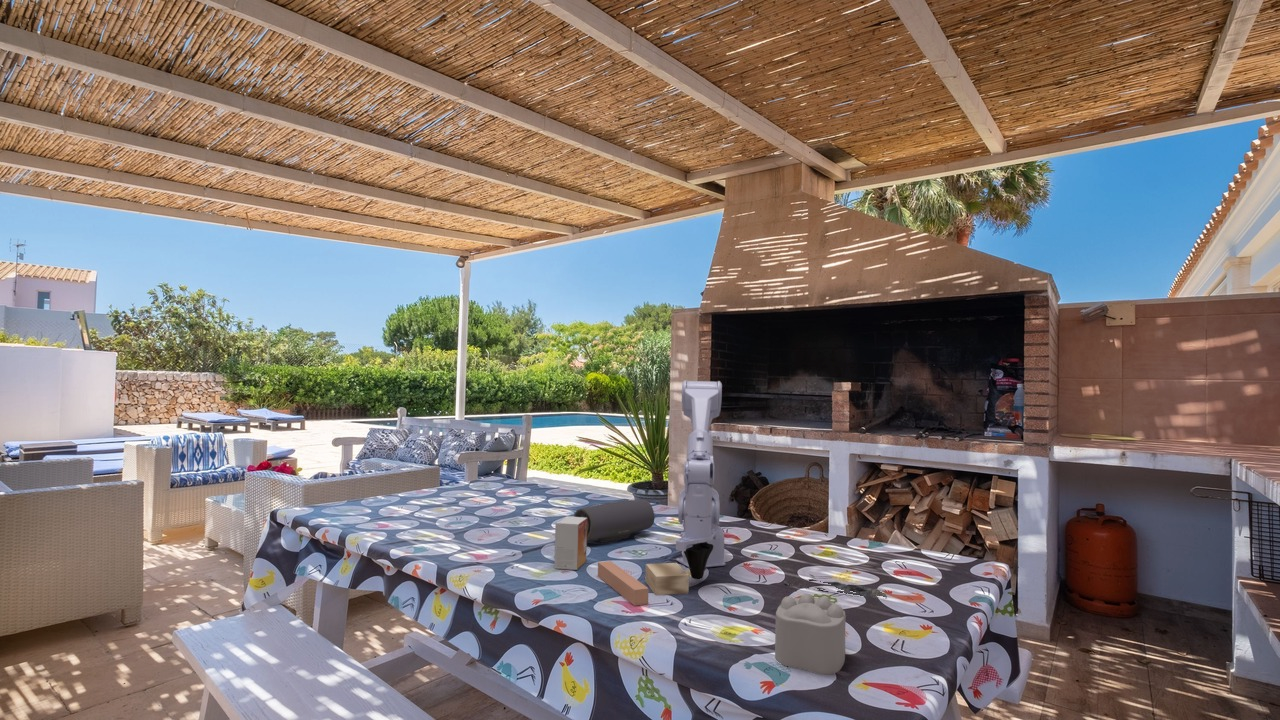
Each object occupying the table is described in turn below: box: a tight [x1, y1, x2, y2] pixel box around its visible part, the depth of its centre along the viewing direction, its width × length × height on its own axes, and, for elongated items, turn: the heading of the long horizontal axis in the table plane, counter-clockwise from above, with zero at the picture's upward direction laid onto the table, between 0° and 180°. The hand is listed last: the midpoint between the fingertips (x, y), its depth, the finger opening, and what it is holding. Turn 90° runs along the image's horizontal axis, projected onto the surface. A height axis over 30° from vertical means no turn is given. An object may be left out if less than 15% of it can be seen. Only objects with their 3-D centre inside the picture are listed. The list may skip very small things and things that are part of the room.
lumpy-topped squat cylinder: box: [774, 593, 847, 675], centre depth 102 cm, size 10×13×9 cm
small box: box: [553, 516, 588, 571], centre depth 149 cm, size 8×6×10 cm
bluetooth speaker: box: [573, 499, 655, 543], centre depth 175 cm, size 23×9×10 cm, turn 133°
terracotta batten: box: [597, 560, 650, 607], centre depth 132 cm, size 3×20×3 cm, turn 24°
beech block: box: [644, 562, 690, 596], centre depth 134 cm, size 7×9×4 cm
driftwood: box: [783, 578, 887, 598], centre depth 136 cm, size 21×7×2 cm, turn 62°
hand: (696, 578), depth 137 cm, fingers closed
